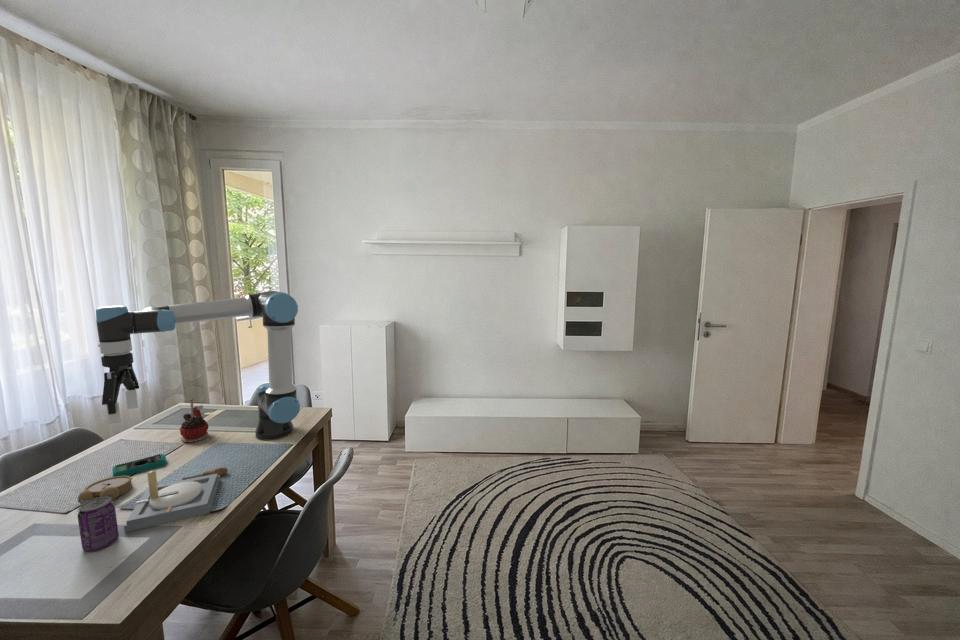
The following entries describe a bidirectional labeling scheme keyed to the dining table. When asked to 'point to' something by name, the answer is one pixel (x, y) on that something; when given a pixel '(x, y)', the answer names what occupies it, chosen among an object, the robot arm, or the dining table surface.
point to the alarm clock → (106, 488)
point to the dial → (171, 493)
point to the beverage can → (97, 523)
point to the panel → (199, 506)
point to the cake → (194, 425)
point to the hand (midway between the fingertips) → (124, 415)
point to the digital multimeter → (139, 465)
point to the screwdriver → (209, 473)
